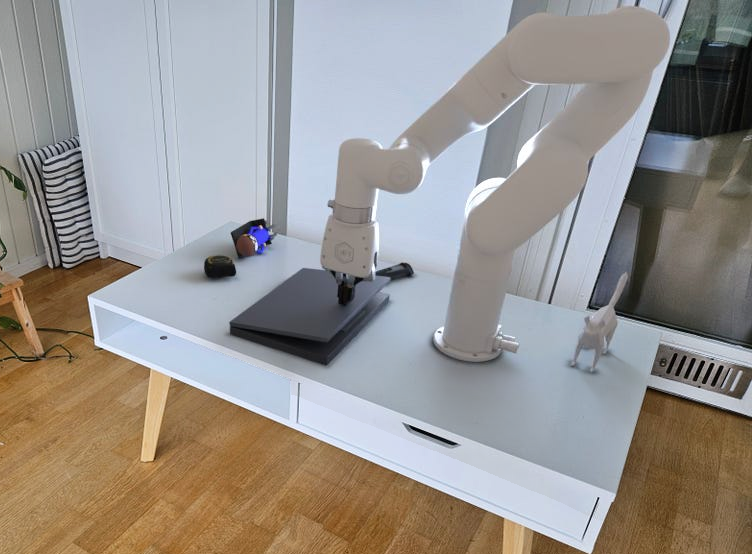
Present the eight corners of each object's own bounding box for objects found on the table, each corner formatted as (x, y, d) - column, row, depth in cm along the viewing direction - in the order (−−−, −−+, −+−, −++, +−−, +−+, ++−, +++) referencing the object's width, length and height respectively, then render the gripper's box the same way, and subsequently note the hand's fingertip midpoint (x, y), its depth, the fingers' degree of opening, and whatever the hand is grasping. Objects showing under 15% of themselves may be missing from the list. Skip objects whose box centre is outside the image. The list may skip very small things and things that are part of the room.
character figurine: (280, 246, 162) (249, 267, 151) (256, 238, 165) (224, 258, 154) (283, 217, 158) (251, 236, 147) (258, 209, 161) (225, 228, 150)
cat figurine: (561, 374, 114) (583, 305, 106) (592, 332, 127) (614, 267, 119) (587, 384, 111) (611, 313, 104) (616, 339, 125) (640, 273, 117)
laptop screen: (390, 281, 134) (390, 277, 134) (327, 343, 112) (326, 338, 112) (303, 271, 145) (302, 267, 144) (229, 326, 123) (229, 321, 122)
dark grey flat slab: (388, 301, 137) (389, 293, 136) (326, 366, 115) (327, 357, 114) (302, 278, 145) (303, 271, 144) (229, 334, 124) (229, 326, 123)
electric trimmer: (352, 286, 143) (353, 273, 142) (403, 270, 150) (405, 258, 149) (363, 292, 141) (364, 279, 139) (414, 276, 148) (416, 263, 146)
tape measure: (206, 282, 143) (205, 267, 141) (202, 270, 149) (202, 255, 146) (236, 280, 144) (236, 265, 142) (231, 267, 150) (231, 253, 148)
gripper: (308, 209, 115) (302, 299, 125) (385, 226, 109) (372, 320, 118) (326, 198, 120) (319, 285, 130) (401, 214, 114) (388, 304, 124)
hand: (345, 302), depth 124 cm, fingers closed
